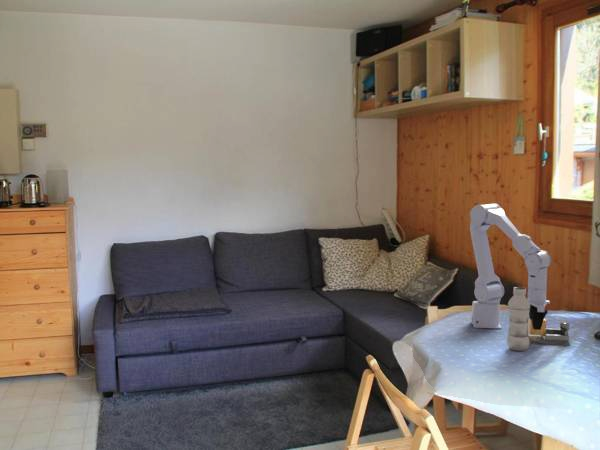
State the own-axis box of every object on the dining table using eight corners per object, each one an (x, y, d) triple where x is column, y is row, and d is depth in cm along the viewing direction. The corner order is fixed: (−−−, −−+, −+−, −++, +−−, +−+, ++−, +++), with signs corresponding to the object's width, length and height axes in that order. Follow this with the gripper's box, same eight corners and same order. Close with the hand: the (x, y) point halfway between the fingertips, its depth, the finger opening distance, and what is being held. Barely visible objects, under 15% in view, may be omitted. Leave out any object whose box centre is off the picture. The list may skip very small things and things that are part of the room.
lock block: (530, 334, 189) (530, 320, 188) (528, 331, 192) (528, 316, 192) (546, 335, 188) (547, 320, 187) (544, 331, 191) (544, 317, 191)
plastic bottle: (531, 353, 176) (533, 291, 174) (508, 352, 178) (510, 290, 175) (527, 346, 183) (529, 286, 180) (505, 345, 184) (506, 285, 181)
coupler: (530, 343, 186) (530, 326, 185) (524, 333, 196) (525, 317, 195) (572, 345, 183) (573, 327, 183) (564, 335, 193) (565, 318, 192)
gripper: (555, 293, 180) (553, 334, 182) (545, 283, 194) (543, 321, 196) (531, 292, 182) (530, 333, 183) (523, 282, 196) (522, 320, 197)
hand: (535, 327), depth 190 cm, fingers closed on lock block, 4 cm apart
